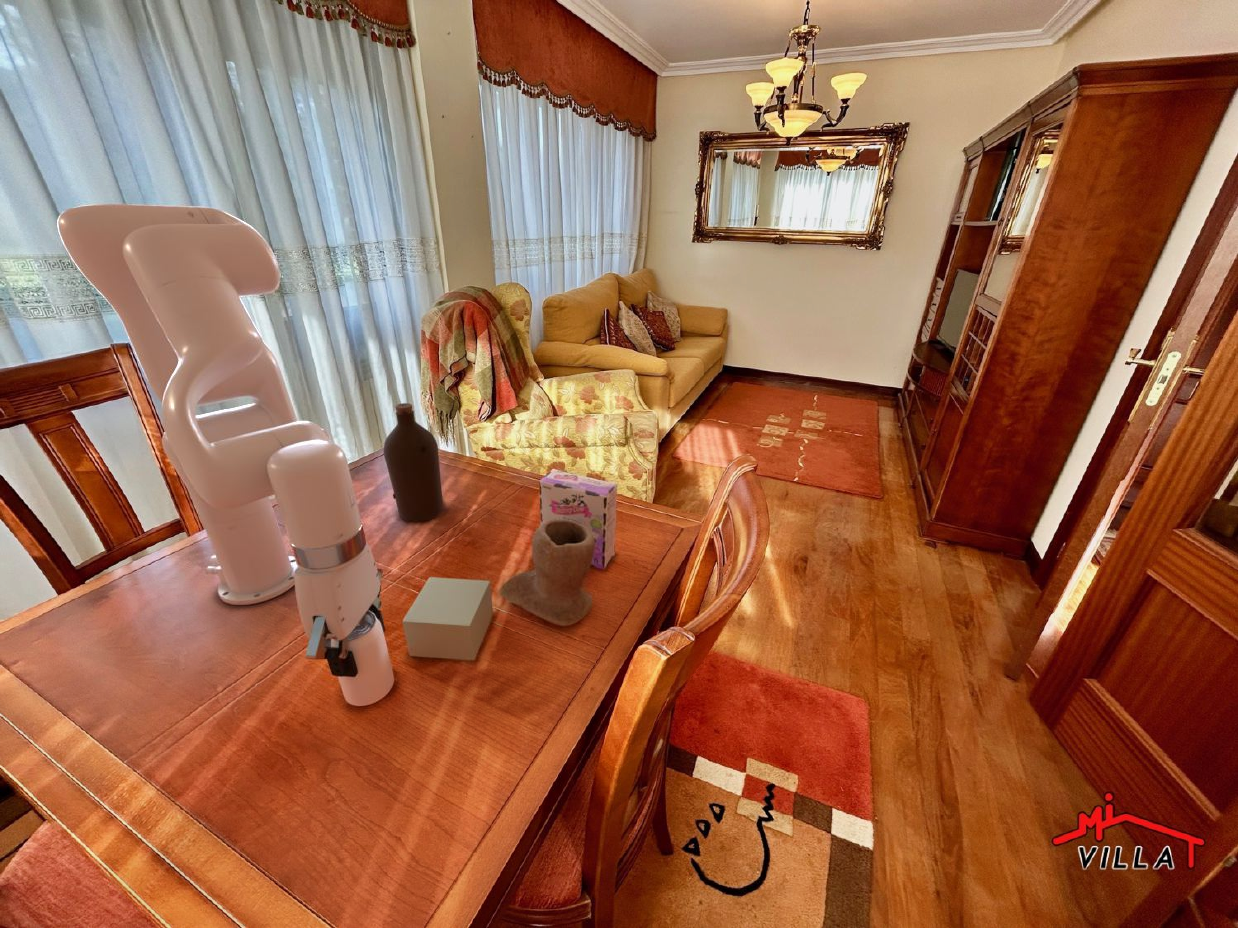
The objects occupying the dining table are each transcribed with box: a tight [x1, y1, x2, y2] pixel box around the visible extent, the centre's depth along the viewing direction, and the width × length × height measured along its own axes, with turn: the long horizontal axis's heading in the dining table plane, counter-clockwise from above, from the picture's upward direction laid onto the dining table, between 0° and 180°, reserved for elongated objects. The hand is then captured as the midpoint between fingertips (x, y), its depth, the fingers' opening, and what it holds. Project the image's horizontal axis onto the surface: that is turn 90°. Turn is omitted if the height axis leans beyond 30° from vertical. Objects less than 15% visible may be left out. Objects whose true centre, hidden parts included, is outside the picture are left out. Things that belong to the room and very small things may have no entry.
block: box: [401, 576, 494, 661], centre depth 78 cm, size 10×10×7 cm
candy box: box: [538, 468, 618, 570], centre depth 96 cm, size 14×6×16 cm, turn 68°
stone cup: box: [498, 519, 595, 627], centre depth 84 cm, size 15×12×15 cm
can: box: [331, 610, 395, 707], centre depth 68 cm, size 6×6×12 cm
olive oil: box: [383, 402, 444, 523], centre depth 106 cm, size 11×11×25 cm
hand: (360, 651), depth 67 cm, fingers closed on can, 6 cm apart
